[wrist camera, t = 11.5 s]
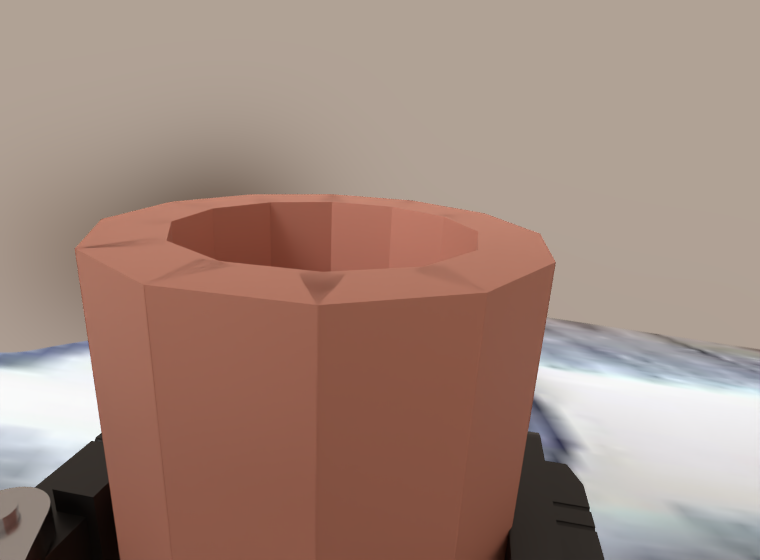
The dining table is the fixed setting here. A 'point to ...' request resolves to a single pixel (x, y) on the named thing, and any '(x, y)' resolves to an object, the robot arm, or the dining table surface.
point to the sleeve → (313, 376)
